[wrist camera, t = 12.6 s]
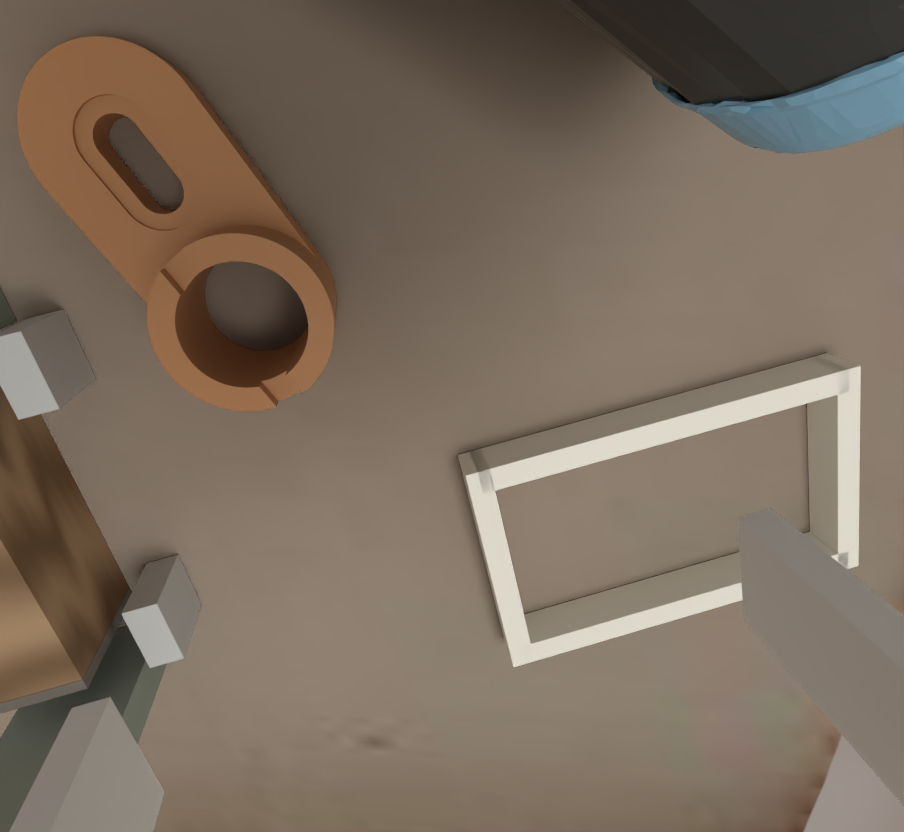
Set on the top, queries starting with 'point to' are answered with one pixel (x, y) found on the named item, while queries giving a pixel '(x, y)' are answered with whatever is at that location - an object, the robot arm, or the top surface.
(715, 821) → the top surface
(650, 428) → the frame
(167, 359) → the bracket
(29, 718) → the green fixture with posts
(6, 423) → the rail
